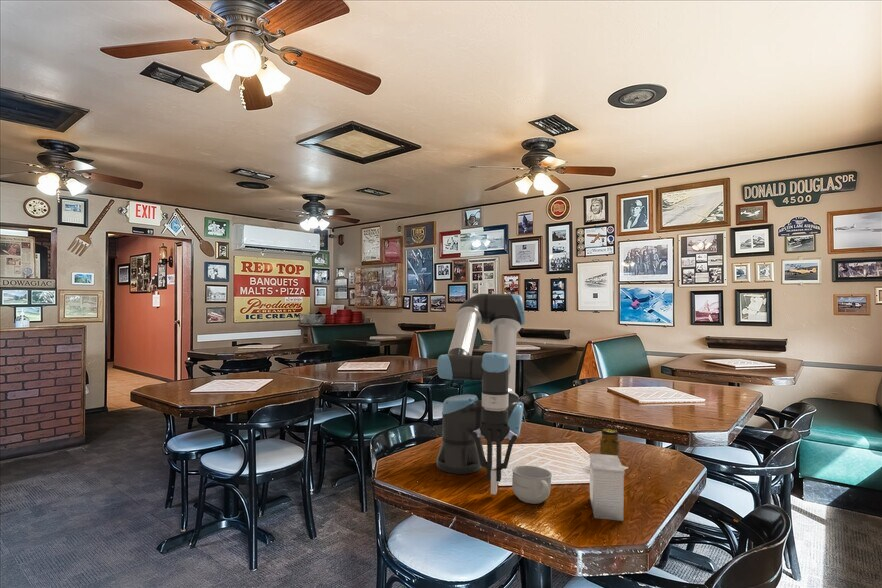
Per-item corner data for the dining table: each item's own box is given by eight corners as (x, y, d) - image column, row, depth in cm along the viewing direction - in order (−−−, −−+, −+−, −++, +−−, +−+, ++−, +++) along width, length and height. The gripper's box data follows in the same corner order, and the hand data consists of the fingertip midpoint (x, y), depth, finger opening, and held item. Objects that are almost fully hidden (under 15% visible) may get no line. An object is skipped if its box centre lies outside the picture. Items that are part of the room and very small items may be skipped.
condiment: (606, 461, 162) (606, 426, 162) (629, 468, 155) (629, 432, 155) (594, 465, 157) (594, 430, 157) (617, 473, 150) (617, 436, 151)
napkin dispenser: (593, 518, 118) (593, 468, 118) (589, 498, 130) (589, 453, 130) (624, 521, 116) (624, 471, 117) (617, 501, 128) (617, 455, 129)
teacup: (508, 491, 134) (508, 464, 134) (544, 491, 135) (544, 463, 135) (520, 513, 120) (520, 482, 120) (561, 512, 121) (561, 481, 121)
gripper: (469, 409, 128) (468, 495, 128) (517, 412, 125) (516, 500, 125) (474, 403, 136) (473, 484, 135) (519, 406, 133) (518, 489, 132)
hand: (493, 492), depth 130 cm, fingers closed
